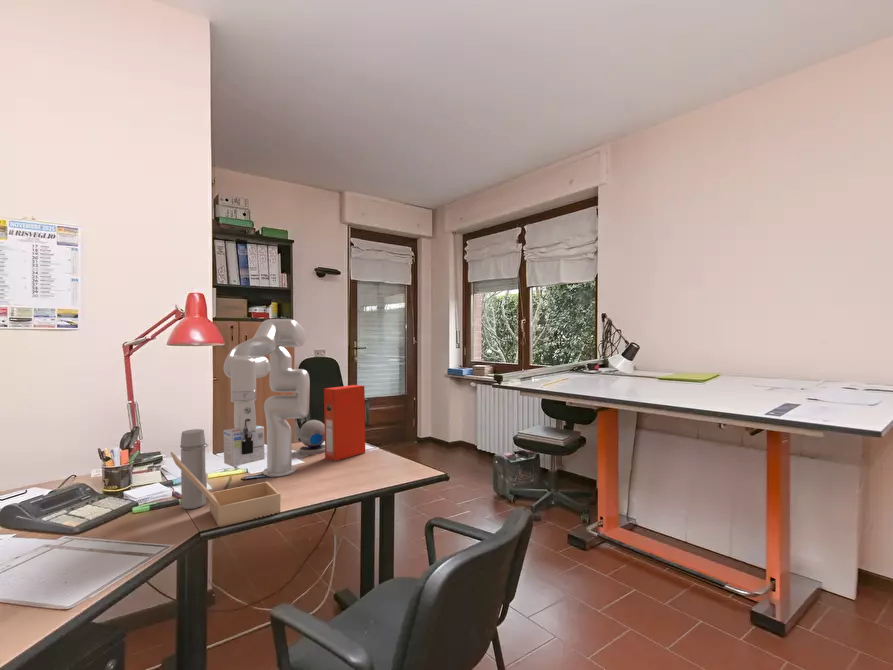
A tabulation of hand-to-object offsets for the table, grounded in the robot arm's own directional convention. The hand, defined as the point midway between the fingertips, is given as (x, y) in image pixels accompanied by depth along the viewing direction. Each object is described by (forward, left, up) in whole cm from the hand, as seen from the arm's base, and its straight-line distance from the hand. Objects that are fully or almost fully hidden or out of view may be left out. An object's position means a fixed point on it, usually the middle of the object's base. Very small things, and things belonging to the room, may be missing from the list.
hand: (244, 450), depth 145 cm
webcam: (-59, +44, -20) cm, 76 cm away
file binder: (-42, +53, -20) cm, 71 cm away
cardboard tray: (0, 0, -20) cm, 20 cm away
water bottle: (-15, -12, -20) cm, 28 cm away
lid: (0, -14, -6) cm, 15 cm away
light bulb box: (0, 0, -4) cm, 4 cm away
